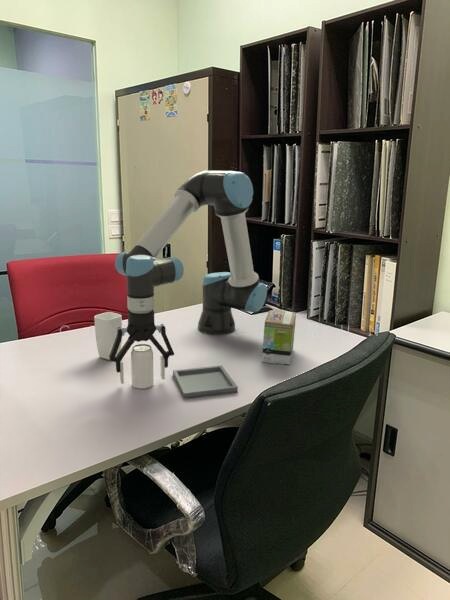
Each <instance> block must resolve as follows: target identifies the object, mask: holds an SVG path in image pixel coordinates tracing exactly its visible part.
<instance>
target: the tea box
mask: <svg viewBox="0 0 450 600" xmlns="http://www.w3.org/2000/svg"><path fill="white" fill-rule="evenodd" d="M296 317H297V313H296V312H293V311H283V310H282V311H281V310H273V309H271V310H269V311H268V313H267V315H266V318H265V320H264V328H263V341H262V355H261V362H262V363H267V364H268V363H269V364H275V363H279V364H278V365H284V364H289V365H291V362H292V356H293V351H294V342H295V330H296V319H297V318H296Z"/></svg>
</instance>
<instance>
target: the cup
mask: <svg viewBox="0 0 450 600" xmlns="http://www.w3.org/2000/svg"><path fill="white" fill-rule="evenodd" d="M93 318H94V319H93V320H94V330H95V331H94V333H95V334H94V335H95V341H96V347H97V354H98V357H99V358H101V359H104V360H108V361H110V358H109V355H110V353H111V350H112V347H113V344H114V342H115V339H116V336H117V328H118V327H121V328H123V321H122V320H123V319H122V314H119V313H116V312H112V311H106V312H103V313H99V314H96V315H94V317H93ZM122 341H123V338H122V339H121V342H120V345H119V348H118V350H117V353H116V356H117V355H118V353H119V352H120V350H121V349H122V344H123V343H122Z"/></svg>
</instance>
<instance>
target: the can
mask: <svg viewBox="0 0 450 600" xmlns="http://www.w3.org/2000/svg"><path fill="white" fill-rule="evenodd" d="M131 347H132V348H131V352H130V366H131V367H130V370H131V372H130V373H131V386H132V387H133V388H134V389H138V390H147V389H149V388H151V387H153V385H154V384H155V383H154V381H155V379H154V374H155V373H154V352H153V349H152V345H150V344H145V343H140V344H139V343H137V344H135V345H133V346H131Z"/></svg>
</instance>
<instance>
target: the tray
mask: <svg viewBox="0 0 450 600" xmlns="http://www.w3.org/2000/svg"><path fill="white" fill-rule="evenodd" d="M172 377H173V378H174V381H175V383H176V386H177V388H178V390H179V392H180V394H181V395H182V397H183V400H188V399H196V398H197V399H198V398H205V397H212V396H220V395H221V396H222V395H228V394H229V395H230V394H238V390H239V388H238V387H239V386H238V385H237V384H236V383H235V381H234V380H233V378H232V377H231V376H230V375H229V373H228V372H227V370H226V369H225V368H224V367H223V365H214V366H203V367H194V368H185V369H174V370H173V371H172Z"/></svg>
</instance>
